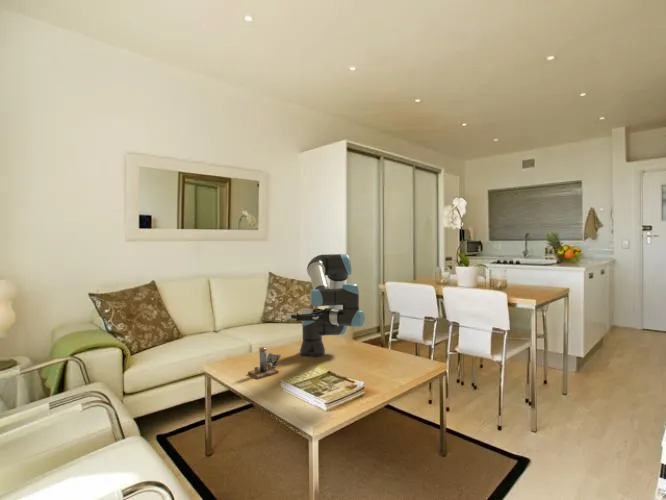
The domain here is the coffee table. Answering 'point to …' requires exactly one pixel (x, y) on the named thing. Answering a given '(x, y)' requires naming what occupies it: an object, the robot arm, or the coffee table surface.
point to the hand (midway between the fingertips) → (294, 313)
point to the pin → (263, 359)
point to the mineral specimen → (273, 359)
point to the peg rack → (258, 374)
